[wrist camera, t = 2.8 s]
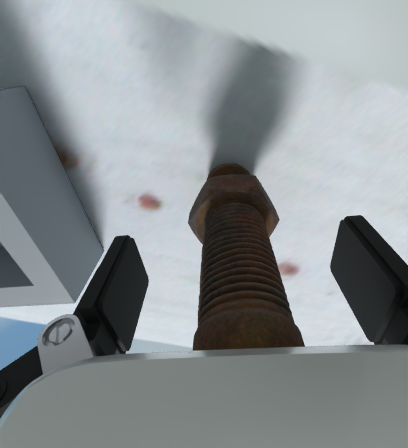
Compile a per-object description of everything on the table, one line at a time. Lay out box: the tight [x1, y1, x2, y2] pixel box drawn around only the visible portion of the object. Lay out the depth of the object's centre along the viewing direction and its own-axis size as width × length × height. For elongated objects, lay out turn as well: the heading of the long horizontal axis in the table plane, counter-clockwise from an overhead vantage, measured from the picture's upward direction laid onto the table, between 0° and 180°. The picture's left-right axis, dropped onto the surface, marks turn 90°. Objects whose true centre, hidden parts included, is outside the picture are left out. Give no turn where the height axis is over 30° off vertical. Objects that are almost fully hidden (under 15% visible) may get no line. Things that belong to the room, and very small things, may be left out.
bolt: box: [188, 164, 305, 351], centre depth 11 cm, size 6×5×15 cm
